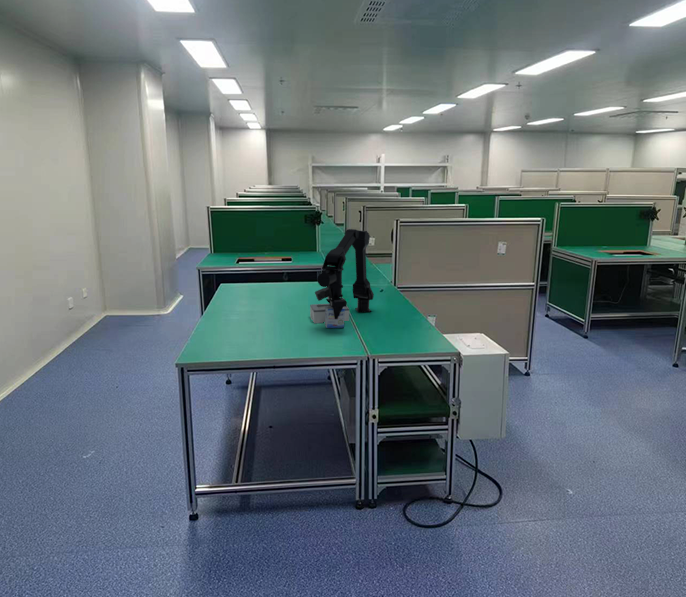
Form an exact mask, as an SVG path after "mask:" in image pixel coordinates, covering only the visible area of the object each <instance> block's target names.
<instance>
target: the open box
mask: <svg viewBox="0 0 686 597" xmlns="http://www.w3.org/2000/svg"><path fill="white" fill-rule="evenodd" d="M325 307H330V303H316V304H310V308H309V312H310V316H309V317H310V319H311V320H313V321H312V323H313V322H314V323H313V324H324V323H323V322H325ZM344 308H345V320H344V321H350V308H349V307H348V306H346V307H344Z"/></svg>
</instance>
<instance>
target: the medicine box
mask: <svg viewBox="0 0 686 597" xmlns="http://www.w3.org/2000/svg"><path fill="white" fill-rule="evenodd" d="M344 320H345V308H344V307H343V308H342V310H341V312H340V314H339V316H338V319H335V318H334V312H333V308H332V307H325V323H324V326H325V328H327V329H338V328H339V329H341V328H342V329H343V328H344V327H345V322H344Z"/></svg>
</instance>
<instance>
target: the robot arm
mask: <svg viewBox="0 0 686 597" xmlns="http://www.w3.org/2000/svg"><path fill="white" fill-rule="evenodd" d="M369 243H370V233H369V232H368V231H367V230H359V229H353V228H348V229H346V231H345V234H344V235H343V237H342V238H341V240H340V242H338V244H337V246H336V247H335V248H332V249H331V250H330V251H329V252H328V253H327V254H326V256H325V258H324V261H323V265H322V266H321V273H319V274H318V276H317V283H318V285H319V286H320V287H323V288H321V289H318V290H316V291H315V292H314V295H315V297H316V299H317V301H319V302H320V301H323V300H324V299H325V301H326V302H327V303H328V304H330V307H332V308H333V312H334V318H335V319H338V316H339V314H340V312H341V310H342V308H343V307H346V306H347V303H348V302H347V301H346V299H345V298H344V297H343V293H342V291H343V288H344V285H343V271H345V270H344V269H345V268H344V265H345V263H346V261H347V257H346V255H347V253H348V252H349V250H350V248H351V246H352V247H353V249H354V252H355V255H354V256H355V274H356V275H355V278H356V279H355V281H354V283H353V284H352V295H353V299H357V302H356V303H357V306H356V307H355V310H356V311H357V313H371V312H372V310H371V309H370V301H372V300H374V296H375V294H374V292H373V290H372V288H371V287H372V286H371V283H370V281H369V279H368V276H367V254H366V253H367V251H366V249H367V247H368V246H369V245H370V244H369ZM347 307H348V306H347Z"/></svg>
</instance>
